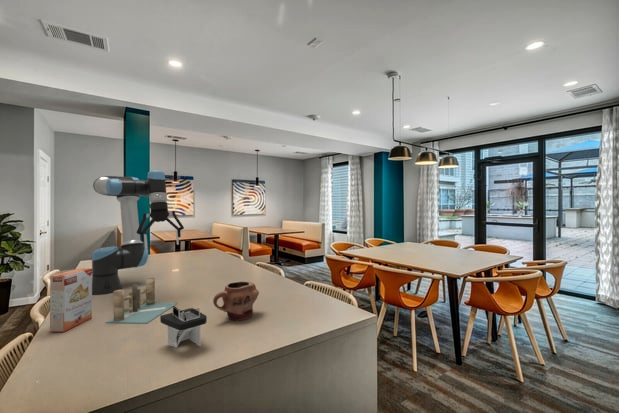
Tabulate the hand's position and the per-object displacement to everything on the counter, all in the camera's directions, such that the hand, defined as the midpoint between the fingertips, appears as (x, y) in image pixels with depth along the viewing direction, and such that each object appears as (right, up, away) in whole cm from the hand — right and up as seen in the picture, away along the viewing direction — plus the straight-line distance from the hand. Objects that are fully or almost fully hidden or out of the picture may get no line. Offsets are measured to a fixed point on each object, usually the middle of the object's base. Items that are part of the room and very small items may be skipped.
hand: (162, 246), depth 143 cm
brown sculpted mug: (+40, -27, -20) cm, 52 cm away
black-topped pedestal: (+29, -28, -44) cm, 59 cm away
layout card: (-2, -27, -12) cm, 30 cm away
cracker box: (-22, -27, -26) cm, 44 cm away
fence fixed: (-6, -27, -18) cm, 33 cm away
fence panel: (-5, -26, -6) cm, 27 cm away
